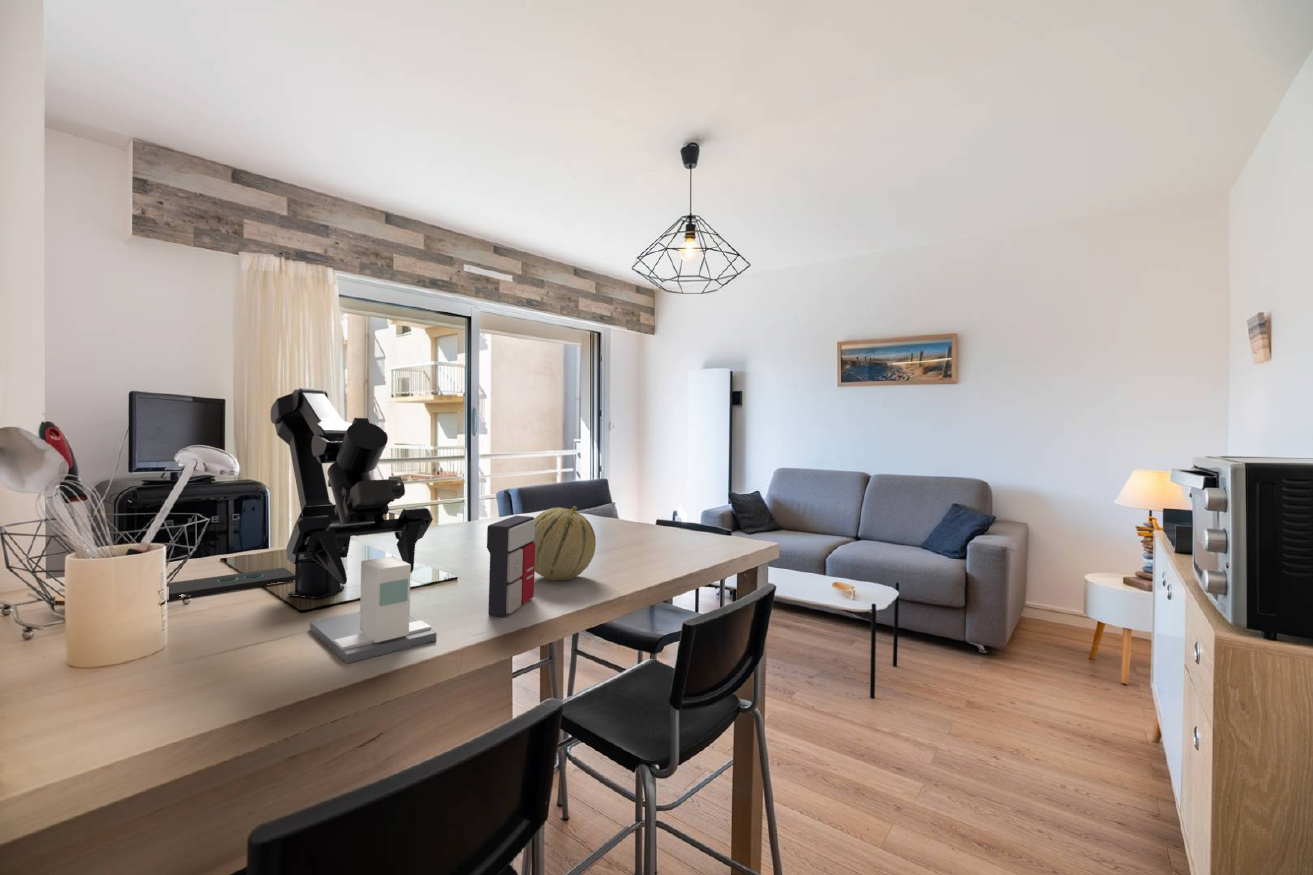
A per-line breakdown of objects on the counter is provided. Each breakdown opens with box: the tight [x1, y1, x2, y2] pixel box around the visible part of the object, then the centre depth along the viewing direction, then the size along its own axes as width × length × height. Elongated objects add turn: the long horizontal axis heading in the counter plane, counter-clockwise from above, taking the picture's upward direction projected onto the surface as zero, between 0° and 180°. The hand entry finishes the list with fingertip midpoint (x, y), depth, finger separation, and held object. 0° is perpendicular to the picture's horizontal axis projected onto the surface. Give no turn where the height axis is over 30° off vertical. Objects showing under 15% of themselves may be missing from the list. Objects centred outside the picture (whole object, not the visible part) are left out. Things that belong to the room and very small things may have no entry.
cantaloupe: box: [534, 505, 596, 581], centre depth 118 cm, size 15×15×15 cm
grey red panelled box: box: [486, 515, 536, 618], centre depth 100 cm, size 11×4×15 cm, turn 168°
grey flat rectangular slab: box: [309, 611, 437, 664], centre depth 85 cm, size 12×16×2 cm
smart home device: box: [169, 567, 295, 602], centre depth 106 cm, size 8×2×20 cm
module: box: [359, 555, 412, 643], centre depth 82 cm, size 6×4×10 cm
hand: (379, 577), depth 83 cm, fingers open, 9 cm apart
